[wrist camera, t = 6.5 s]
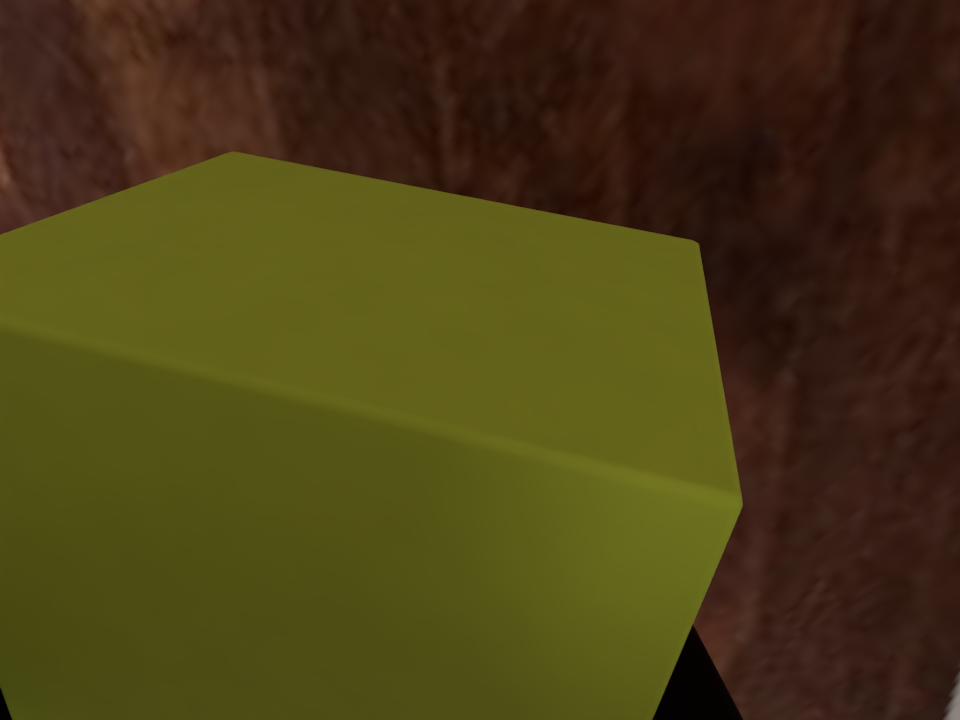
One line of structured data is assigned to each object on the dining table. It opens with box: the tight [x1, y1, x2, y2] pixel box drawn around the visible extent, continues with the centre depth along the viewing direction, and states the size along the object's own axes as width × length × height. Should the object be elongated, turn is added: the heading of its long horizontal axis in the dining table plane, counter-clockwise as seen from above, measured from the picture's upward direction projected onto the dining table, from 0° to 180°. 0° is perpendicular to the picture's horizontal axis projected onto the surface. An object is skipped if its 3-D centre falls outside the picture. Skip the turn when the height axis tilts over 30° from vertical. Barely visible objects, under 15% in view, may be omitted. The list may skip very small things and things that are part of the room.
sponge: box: [0, 151, 743, 720], centre depth 7 cm, size 5×7×4 cm
